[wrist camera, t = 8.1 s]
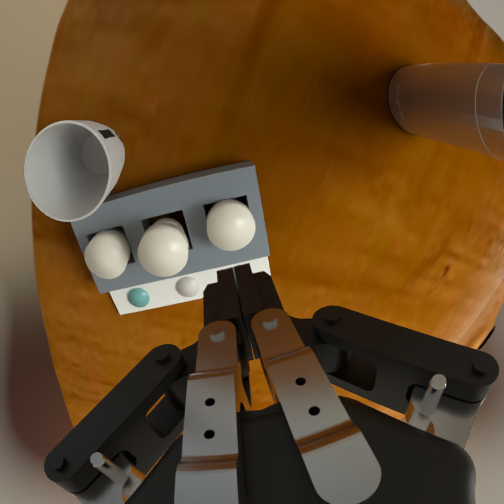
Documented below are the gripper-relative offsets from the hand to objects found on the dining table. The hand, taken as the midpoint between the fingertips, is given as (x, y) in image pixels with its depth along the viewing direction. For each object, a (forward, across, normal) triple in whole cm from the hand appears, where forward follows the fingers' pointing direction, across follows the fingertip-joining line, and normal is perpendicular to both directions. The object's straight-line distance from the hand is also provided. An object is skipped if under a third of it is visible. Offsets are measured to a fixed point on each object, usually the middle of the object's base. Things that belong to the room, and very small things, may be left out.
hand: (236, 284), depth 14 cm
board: (+20, +6, +4) cm, 22 cm away
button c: (+20, +13, +3) cm, 24 cm away
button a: (+20, 0, +4) cm, 20 cm away
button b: (+18, +6, +3) cm, 19 cm away
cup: (+21, +11, -6) cm, 24 cm away
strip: (+20, +6, +12) cm, 24 cm away
